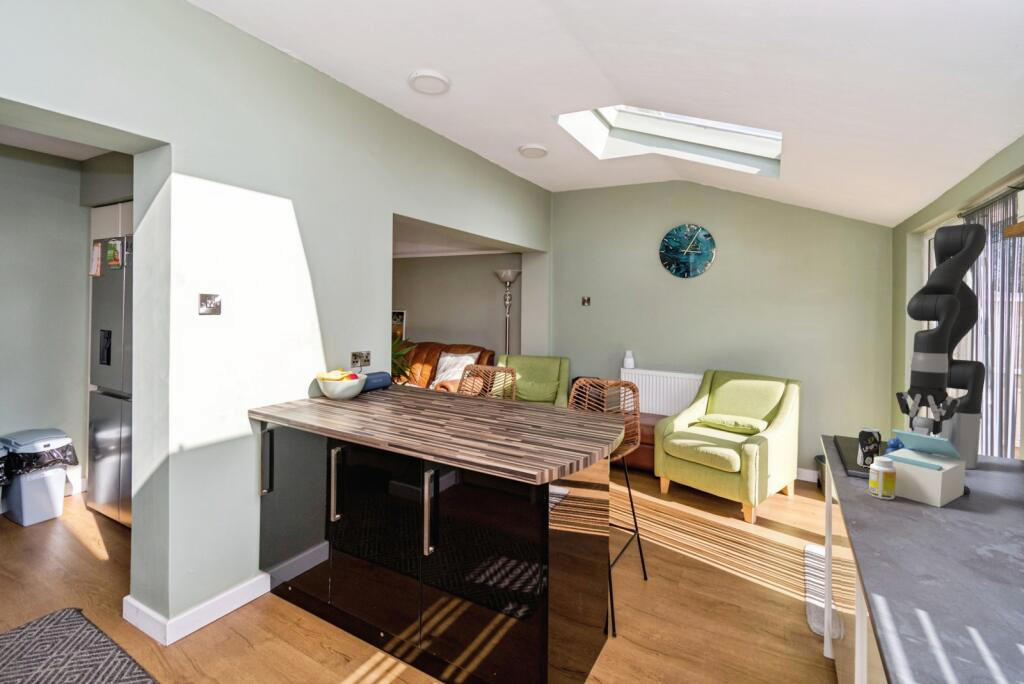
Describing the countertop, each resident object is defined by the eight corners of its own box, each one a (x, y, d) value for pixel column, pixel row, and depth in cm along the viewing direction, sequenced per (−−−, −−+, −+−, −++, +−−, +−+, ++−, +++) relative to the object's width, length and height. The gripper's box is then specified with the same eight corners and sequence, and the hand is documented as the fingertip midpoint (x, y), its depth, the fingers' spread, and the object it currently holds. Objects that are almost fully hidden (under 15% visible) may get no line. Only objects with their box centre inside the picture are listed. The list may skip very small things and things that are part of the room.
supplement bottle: (897, 496, 130) (899, 459, 129) (891, 502, 127) (893, 463, 126) (872, 490, 135) (874, 454, 134) (865, 495, 131) (867, 458, 130)
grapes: (934, 469, 152) (937, 431, 151) (931, 474, 147) (934, 435, 146) (887, 460, 160) (889, 424, 159) (883, 465, 155) (885, 428, 155)
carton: (900, 478, 144) (902, 446, 143) (963, 494, 132) (965, 458, 131) (874, 489, 135) (876, 455, 135) (939, 507, 123) (942, 469, 123)
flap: (906, 447, 142) (912, 429, 143) (960, 458, 132) (966, 438, 133) (891, 430, 136) (897, 411, 137) (946, 440, 126) (952, 419, 127)
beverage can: (858, 468, 153) (859, 430, 152) (856, 462, 158) (857, 426, 157) (880, 471, 150) (882, 432, 149) (878, 465, 155) (880, 428, 154)
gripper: (969, 371, 128) (964, 436, 129) (903, 366, 140) (899, 425, 141) (958, 373, 124) (953, 440, 125) (891, 367, 136) (887, 428, 137)
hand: (924, 432), depth 133 cm, fingers closed on flap, 4 cm apart
